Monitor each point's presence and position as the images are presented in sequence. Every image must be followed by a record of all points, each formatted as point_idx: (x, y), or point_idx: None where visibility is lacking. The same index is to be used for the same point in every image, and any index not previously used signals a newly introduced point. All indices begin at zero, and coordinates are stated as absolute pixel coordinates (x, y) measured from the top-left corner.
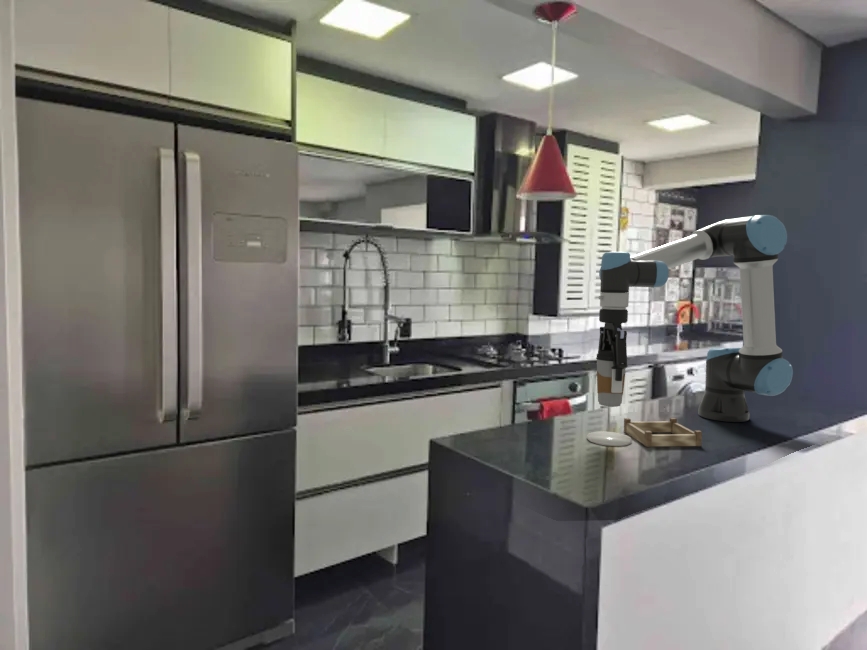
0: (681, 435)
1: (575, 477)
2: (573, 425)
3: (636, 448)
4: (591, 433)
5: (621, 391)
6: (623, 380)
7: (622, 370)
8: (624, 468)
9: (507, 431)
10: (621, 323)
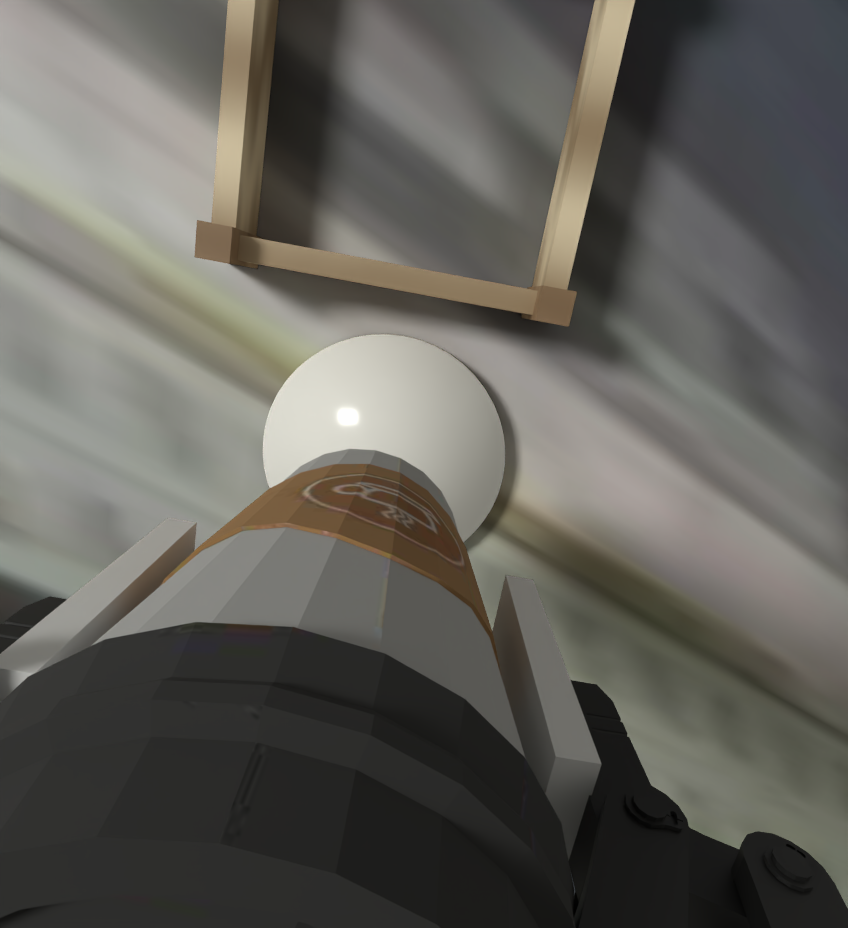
0: (618, 65)
1: (808, 831)
2: (67, 495)
3: (560, 395)
4: None
5: (534, 591)
6: (466, 575)
7: (595, 753)
8: (798, 619)
9: None
10: None
